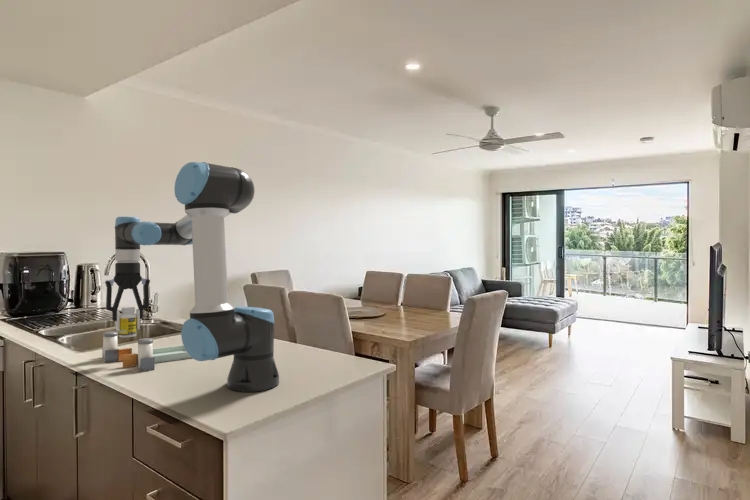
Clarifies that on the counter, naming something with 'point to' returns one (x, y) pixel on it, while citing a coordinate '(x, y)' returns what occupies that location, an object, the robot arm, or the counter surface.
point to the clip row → (129, 358)
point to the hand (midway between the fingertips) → (127, 329)
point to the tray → (170, 353)
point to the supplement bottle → (128, 322)
